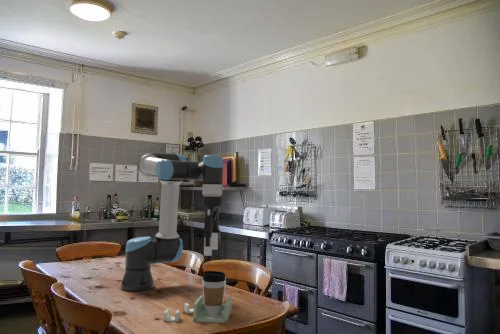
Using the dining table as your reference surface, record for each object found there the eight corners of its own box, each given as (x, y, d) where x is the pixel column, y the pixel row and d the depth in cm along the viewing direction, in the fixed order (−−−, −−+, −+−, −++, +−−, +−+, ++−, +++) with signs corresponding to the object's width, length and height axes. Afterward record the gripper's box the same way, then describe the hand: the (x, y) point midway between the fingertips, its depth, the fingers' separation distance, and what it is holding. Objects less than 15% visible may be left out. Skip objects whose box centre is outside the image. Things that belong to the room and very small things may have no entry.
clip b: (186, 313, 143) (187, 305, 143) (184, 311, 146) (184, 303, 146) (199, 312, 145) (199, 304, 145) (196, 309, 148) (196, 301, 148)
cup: (205, 306, 152) (205, 281, 153) (198, 300, 162) (199, 276, 162) (229, 303, 156) (229, 279, 157) (221, 297, 166) (221, 274, 166)
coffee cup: (201, 310, 144) (203, 269, 144) (224, 309, 144) (225, 269, 145) (201, 317, 135) (202, 274, 136) (225, 317, 136) (226, 274, 137)
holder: (193, 321, 134) (193, 304, 135) (200, 311, 146) (200, 295, 147) (227, 322, 133) (227, 305, 134) (231, 312, 145) (231, 296, 146)
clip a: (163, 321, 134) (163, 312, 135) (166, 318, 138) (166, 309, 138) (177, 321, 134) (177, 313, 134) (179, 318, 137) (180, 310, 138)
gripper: (216, 196, 132) (215, 258, 131) (226, 195, 157) (225, 247, 156) (195, 196, 133) (194, 257, 132) (208, 195, 158) (207, 247, 156)
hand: (211, 252), depth 144 cm, fingers open, 13 cm apart
